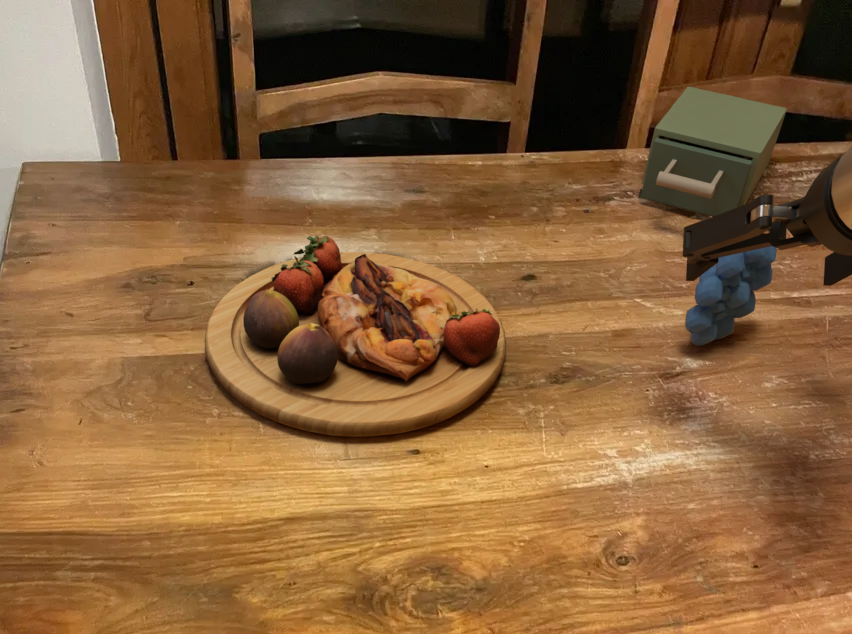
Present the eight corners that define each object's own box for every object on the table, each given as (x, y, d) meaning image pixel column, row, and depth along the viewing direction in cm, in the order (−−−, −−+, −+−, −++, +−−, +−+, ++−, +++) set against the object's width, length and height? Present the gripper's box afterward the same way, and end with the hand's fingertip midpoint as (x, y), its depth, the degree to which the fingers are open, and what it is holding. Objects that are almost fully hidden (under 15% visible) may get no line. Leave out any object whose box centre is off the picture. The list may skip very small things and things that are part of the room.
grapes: (720, 304, 109) (753, 205, 100) (765, 332, 106) (804, 232, 96) (650, 335, 104) (678, 233, 95) (695, 365, 101) (729, 263, 92)
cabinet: (738, 223, 122) (761, 153, 115) (638, 197, 126) (654, 127, 119) (764, 176, 131) (787, 108, 124) (670, 153, 135) (688, 85, 128)
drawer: (720, 242, 117) (738, 185, 111) (625, 217, 120) (638, 160, 114) (758, 176, 129) (776, 121, 123) (671, 155, 132) (684, 101, 127)
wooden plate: (556, 329, 104) (569, 261, 98) (399, 487, 87) (403, 416, 80) (325, 241, 115) (323, 174, 109) (143, 365, 97) (128, 294, 91)
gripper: (709, 236, 70) (631, 304, 91) (1035, 248, 71) (882, 312, 92) (714, 132, 69) (634, 225, 90) (1042, 145, 70) (887, 234, 91)
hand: (759, 269), depth 91 cm, fingers open, 13 cm apart
